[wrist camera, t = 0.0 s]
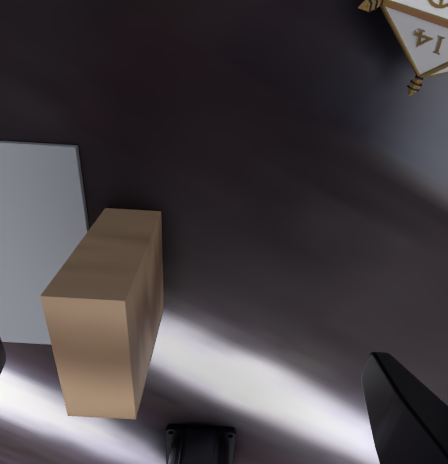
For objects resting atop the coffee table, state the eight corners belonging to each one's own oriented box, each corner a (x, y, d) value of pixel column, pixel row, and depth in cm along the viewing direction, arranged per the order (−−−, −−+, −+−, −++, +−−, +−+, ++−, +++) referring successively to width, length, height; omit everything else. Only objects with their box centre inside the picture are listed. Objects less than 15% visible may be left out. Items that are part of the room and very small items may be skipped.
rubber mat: (104, 343, 29) (103, 347, 29) (-46, 335, 29) (-50, 338, 28) (77, 145, 21) (75, 147, 21) (-128, 132, 21) (-134, 134, 21)
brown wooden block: (163, 307, 27) (135, 419, 19) (115, 304, 27) (67, 415, 19) (161, 211, 23) (124, 301, 15) (105, 207, 23) (40, 296, 15)
